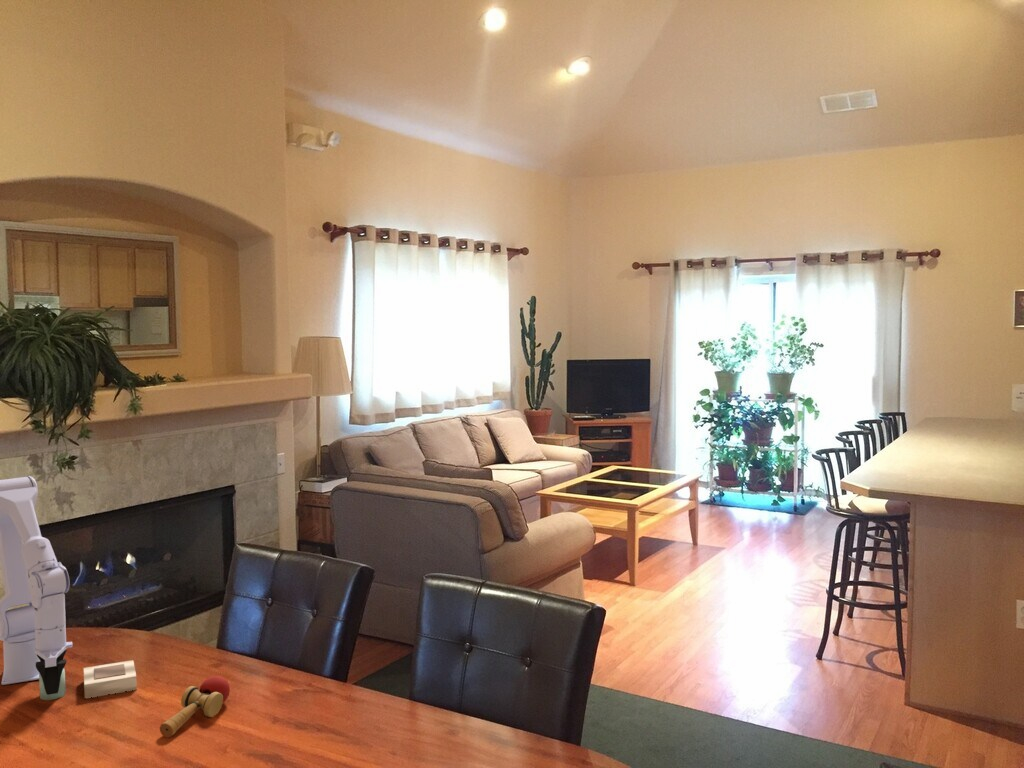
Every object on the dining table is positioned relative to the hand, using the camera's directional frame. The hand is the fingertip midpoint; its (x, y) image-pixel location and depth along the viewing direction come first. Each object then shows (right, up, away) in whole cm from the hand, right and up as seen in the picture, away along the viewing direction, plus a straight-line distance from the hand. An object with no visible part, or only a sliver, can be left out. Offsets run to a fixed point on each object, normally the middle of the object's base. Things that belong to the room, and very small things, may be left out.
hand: (52, 688), depth 185 cm
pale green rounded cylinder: (0, -1, 0) cm, 1 cm away
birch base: (+10, -1, +5) cm, 11 cm away
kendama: (+34, -3, -10) cm, 35 cm away
